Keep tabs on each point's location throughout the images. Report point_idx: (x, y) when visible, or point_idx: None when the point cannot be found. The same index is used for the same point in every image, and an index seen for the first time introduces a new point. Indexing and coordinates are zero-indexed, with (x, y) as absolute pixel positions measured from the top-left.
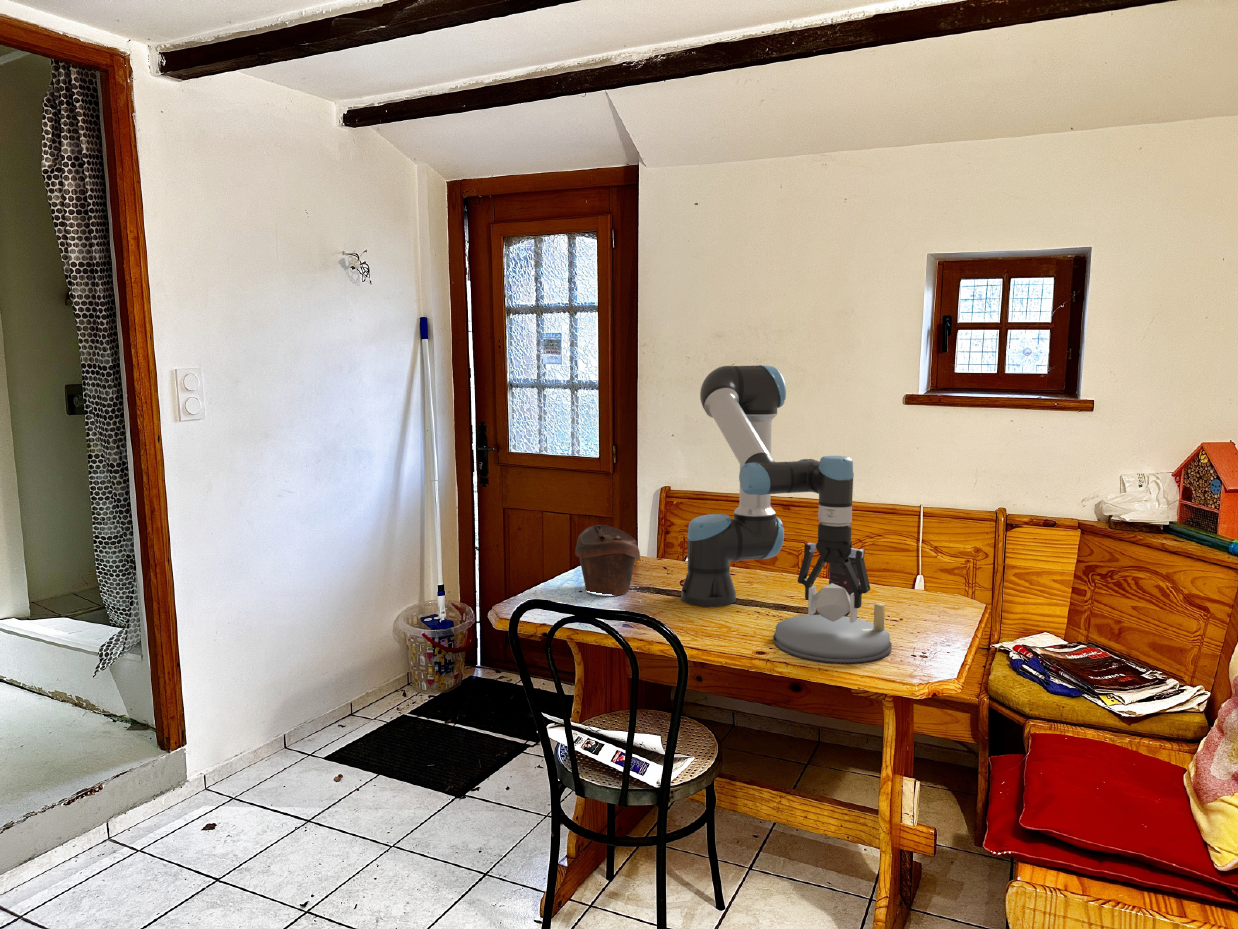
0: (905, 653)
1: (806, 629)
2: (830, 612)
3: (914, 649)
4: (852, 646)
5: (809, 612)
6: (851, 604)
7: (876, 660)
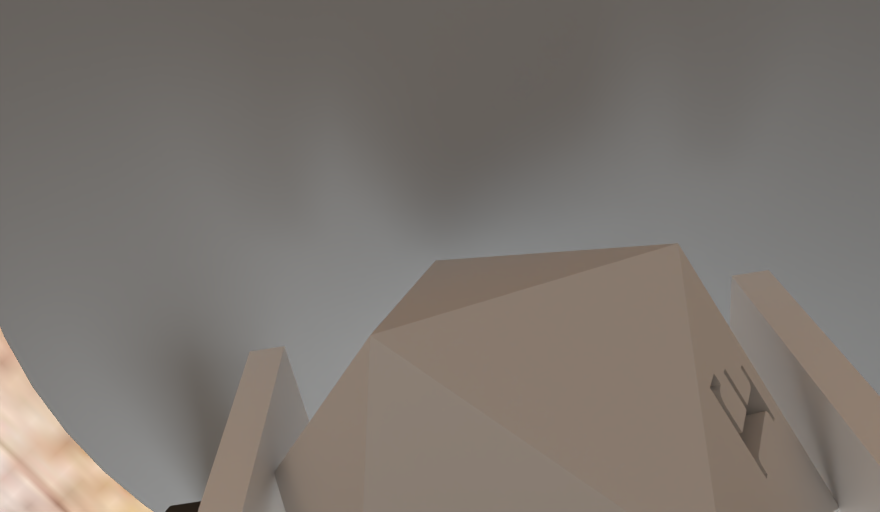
0: (16, 402)
1: (709, 172)
2: (451, 281)
3: (40, 489)
4: (93, 40)
5: (766, 289)
6: (224, 505)
7: None
